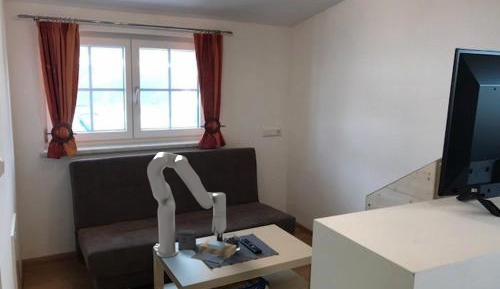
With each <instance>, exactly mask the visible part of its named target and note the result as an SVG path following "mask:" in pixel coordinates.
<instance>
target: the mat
mask: <svg viewBox="0 0 500 289" xmlns="http://www.w3.org/2000/svg"><path fill="white" fill-rule="evenodd" d="M217 257H218V258H219V257H220V258H219V264H218V265H222V264H224V263H225V261H224V260H226V261H227V260H228V259H229V258H228V257H225V258H224V257H223V256H217ZM190 258H191V259H195V260H200V261H204V260H205V258H204V255H203V253H202V252H200V251H199V250H198V251H197V252H196V253H195V254H193V255H192V256H191V257H190Z"/></svg>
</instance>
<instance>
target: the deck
mask: <svg viewBox="0 0 500 289" xmlns="http://www.w3.org/2000/svg"><path fill="white" fill-rule="evenodd" d="M210 241H211V240H210V239H207V240H205V241H204V242H203V243H200V244H199V246H198V252H199V251H200V252H205V253H210V254H215V255H218V256H223V257H228V259H229V258H231V257H232V256H233V255H234V254H236V253H237V245H236V244H230V243H226V242H225V247H224V248H223V249H221V250H217V249H212V248H207V243H208V242H210ZM235 252H236V253H235ZM231 255H232V256H231ZM230 256H231V257H230Z"/></svg>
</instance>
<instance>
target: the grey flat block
mask: <svg viewBox="0 0 500 289" xmlns="http://www.w3.org/2000/svg"><path fill="white" fill-rule="evenodd" d="M225 243H226V242H225V241H223V242H220V241H217V240H215V239H212V240H211V241H210V242H208V243H207V248H212V249H217V250H221V249H223V248H224V247H225Z"/></svg>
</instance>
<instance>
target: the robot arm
mask: <svg viewBox="0 0 500 289" xmlns="http://www.w3.org/2000/svg"><path fill="white" fill-rule="evenodd" d="M166 167H167V168H171V169H174V172H176V173H177V175H178V176H179V177H180V179H181V180H182V181H183V182H184V184H185V185H186V187H187V189H188V190H189V191H190V192H191V194H192V195H193V197H194V198H195V200H196V201H197V202H198V204H199V205H200V206H201V207H202V208H204V209H206V210H208V209H211V208H212V210H213V214H212V215H213V217H212V221H211V223H212V224H211V232H212V233H214V236H215V237H216V241H220V242H224V232H225V231H226V230H227V229H226V228H227V203H226V202H227V197H226V193H224V192H212V191H211V192H208V191H207V190H206V189H205V187H204V185H203V184H202V182H201V179H200V176H199V175H198V174H197V173H196V171H195V170H194V169H193V168H192V166H191V165H190V163H189V161H188V158H187V157H186V156H184V155H181V154H180V155H179V154H174V153H170V152H165V151H161V152H158V153H156V154H155V156H154V158H153V159H152V160H150V162H149V163H148V165H147V169H146V170H147V171H146V173H147V177H148V182H149V185H150V188H151V191H152V196H153V197H154V199H155V200H156V201H157V203H158V208H157V221H158V222H157V223H158V243H156V244H155V245H154V249H156V250H157V251H156V256H158V257H159V258H171V257H175V256H176V255H177V254H178V253H179V250H178V248H176V221H175V219H176V217H175V216H176V214H175V211H176V202H175V198H174V196H173V193H172V190H171V187H170V185H169V183H167V181H166V180H165V176H164V174H163V170H164V169H165V168H166Z"/></svg>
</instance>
